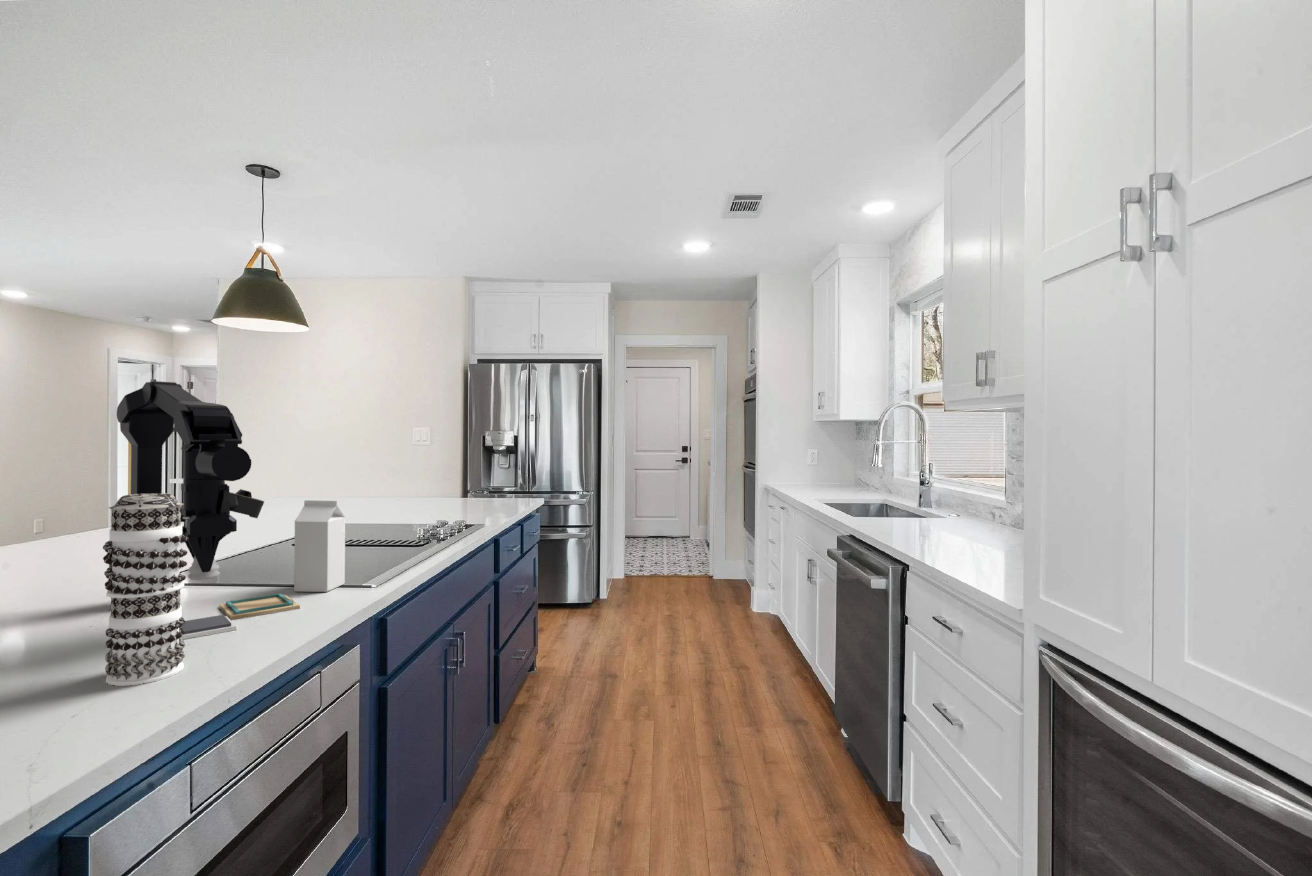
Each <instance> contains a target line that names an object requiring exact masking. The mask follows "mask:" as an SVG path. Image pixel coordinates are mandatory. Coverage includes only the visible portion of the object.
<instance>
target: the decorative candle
mask: <svg viewBox="0 0 1312 876" xmlns="http://www.w3.org/2000/svg"><path fill="white" fill-rule="evenodd" d="M183 505H184V504H183V502H182V503H181V502H179V501H178V499H177V498H176V497H175V496H174V495H173V494H172V493H163V492H162V493H146V494H132V495H131V494H126V495H122V496H121V497H119V498H118V500H117V501H116V503H114V505H112V506H109V507H108V509H110V511H111V519H110V520H111V521H110V522H111V526H110V529H109V540H108V541H106V542H105V543H104V544H103V546H102V549H103V550H104V551H105V552H106V554H105V555H104V556H103V557H102V560H103V562H104V564H106V565H108V567H107V568H106V570H105V571H104V574H103V575H104V576H105V578H106V580H107V581H106V582H105V583H104V586H105V589H106V590H107V591H106V597H108V598H110V614H109V617H108V628H107V629H106V630H105V636H106V637H109V639H108V640H106V641H105V647H106V648H107V649H110V650H109V651H107V653H105V657H104V659H105V662H106V663H107V664H106V665H105V668H104V669H105V671H104V672H105V674H107V676H106V680H105V684H107V683H108V684H107V685H110V686H112V685H115V686H114V687H129V686H130V685H131V686H139V684H140V685H144V684H143V683H145V684H149V683H150V684H151V683H155V682H158V681H161V680H164V679H165V680H166V679H168V678H170V677H172V676H175V675H177V674H180V673H181V672H182V671H183V670H184V669H185V666H184V665H185V664H184V662H183V659H184V658H185V657H186V655H185V654H184V653H185V652H184V651H183V650H184V648H185V646H186V643H185V642H184V639H183V640H182V639H180V638H181V637H182V635H184V634H185V631H184V630H183V629H182V628H180V627H181V626H182V625H183V624H184V623H185V621H186V620H185V618H184V617H182V615H183V612H182V610H183V606H182V605H181V589H183V588H184V587H185V582H184V581H185V580H186V579H187V576H186V575H184V574H182V573H181V572H180V570H181V569H183V568H184V567H186V566H187V565H188V562H187V561H185V560H183V559H182V558H183V557H185V556H187V555H188V551H187V550H185V549H183V548H180V545H182V544H184V543H185V542H186V541H188V540H189V538H188V537H187V536H184V535H182V532H183V531H182V526H183V524H182V522H181V507H182V506H183ZM183 533H184V532H183ZM109 565H111V567H109ZM154 681H155V682H154Z"/></svg>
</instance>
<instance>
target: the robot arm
mask: <svg viewBox="0 0 1312 876" xmlns="http://www.w3.org/2000/svg"><path fill="white" fill-rule="evenodd" d="M116 419H117V421H118V423H119V426H120V428H119V429H120V432H121V433H122V435H123V436H124V438H126V439H125V440H127V441H128V442H129V444H130V446H131V447H130V448H131V449H130V451H131V452H130V456H131V458H130V495H132V494H146V493H163V492H162V491H163V445H164V444H165V443H166V442H167V440H168V439H169V438H170V436H171V435H172V434H173V433H174V429H175V430H176V433H177V434H178V436H179V437H180V440H181V441H182V442H183V444H182V446H181V448H180V449H181V451H182V452H183V453H182V454H183V457H182V458H183V459H182V460H183V462H182V463H183V466H182V467H183V471H182V472H183V475H182V476H183V478H182V480H183V482H182V483H181V486H180V488H181V491H182V493H183V494H182V495H183V496H182V503H183V504H184V505H182V506H181V523H183V525H182V531H183V532H184V533H183V532H182V535H184V536H187V537H188V538H189V540H188V541H186V542H184V543H185V545H186V547H187V549H188V551H189V553H190V555H191V557H192V559H193V560H194V557H195V558H196V560H197V562H198V564H199V566H200V568H201V571H202V572H210V571H211V567H212V564H213V560H214V559H215V556H216V553H217V551H218V546H219V544H220V541H222V539H224V538H225V537H226V536H228V535H229V534H231V533H234V532H237V530H238V529H237V527H238V526H237V523H238V521H237V519H236V518H234V516H233V515H231V513H230V512H233V513H236V514H237V513H238V514H241V515H247V516H249V517H250V518H252V519H253V518H254V519H258V518H259V515H260V513H261V510H262V508H263V506H264V504H265V501H264V500H261V499H258V498H255V497H253V495H252V492H251V491H248V490H245V489H242V488H240V489H239V490H238V491H236V492H231V491H230V485H228V483H226V482H236V481H239V480H241V479H242V478H244V477H245V476H247V474H248V473H249V472H250V470H251V467H252V459H251V457H250V455H249V453H248V451H246V450H245V449H243V448H242V447H239V445H242V444H243V440H242V437H243V433H242V431H241V430H240V428H239V425H238V423H237V421H236V420H235V416H234V414H233V413H232V412H231V410H230V408H229V407H228V406H227V405H224V404H220V403H214V402H205V401H202V400H200V399H198V398H197V397H196V396H195V395H193V394H191V393H190V392H188V391H187V390H186V389H184V388H183V386H182V385H181V383H177V382H173V381H171V382H170V381H157V380H151V381H148V382H147V381H146V382H145V383H144V384H143V386H142V387H141V388H139V389H137V390H134V391H132V392H129V393H126V394H125V395H124V396H123V398H122V399H121V400H120V403H119V404H118V406H117V408H116ZM109 567H111V565H109V564H108V568H109Z"/></svg>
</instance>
